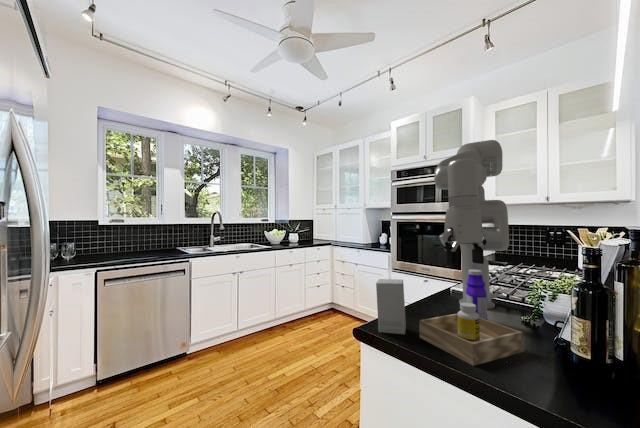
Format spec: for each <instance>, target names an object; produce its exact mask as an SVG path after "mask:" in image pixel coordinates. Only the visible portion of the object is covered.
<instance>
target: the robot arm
mask: <svg viewBox="0 0 640 428" xmlns="http://www.w3.org/2000/svg"><path fill="white" fill-rule="evenodd" d="M502 171H503V149H502V146H501V143H500V142H499V141H498V140H495V139H488V140H482V141H474V142H473V141H472V142H469V143H468V142H467V143H465V144H463V145H461V146H460V147H459V148H458V149H457V153H456V154H454V155H453V156H450V157H447V158H445V159H443V160H441V161H440V162H438V164H437V165H436V169H435V170H434V184H435V186H436V187H437V188H438V190H441V191H442V190H443V191H445V190H448V191H447V193H448V194H447V196H448V208H447V209H446V211H445V219H444V232H442V233H441V234H440V235H439V236H438V237H439V240H440V242H441V246H442V247H443V249H444V251H445V252H446V266H448V267H449V266H450V267H457V268H458V265H459V257H458V253H459V252H458V251H456V250H457V249H458V247H459V246H460V247H459V248H460V252H461V253H460V254H461V274H462V276H461V277H462V279H461V280H462V298H460V299H459V301H458V304H460V303H467V301H466V288H467V284H466V282H467V280H468V276H469V274H468V273H469V270H481V271H482V278H483V281H484V283H485V286H484V288H485V290H486V294H487V296H486V299H487V310H491V309H494V308H495V306H496V304H495V303H494V302H493V301H492V300H494V299H497V298H498V295H497V294H496V293H491V291H490V269H489V267H490V266H489V260H488V259H487V257H486V256H485V255H484V251H488V252H489V251H490V252H491V251H493V252H502V251H506V250H508V248H509V246H510V230H509V229H510V228H509V214H508V208H507V205H506V202H505V201H503V200H500V199H486V198H485V197H486V196H485V188H484V186H483V185H484V184H485V182H486V181H487V178H490V177H491V178H492V177H497V176H498V175H500V174H501V173H502ZM483 224H484V225H486V224H489V225H490V224H491V225H494V226H483Z"/></svg>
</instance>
